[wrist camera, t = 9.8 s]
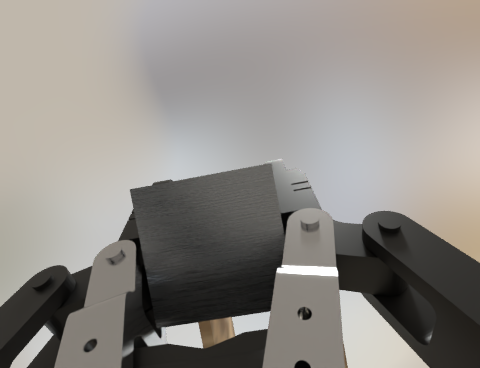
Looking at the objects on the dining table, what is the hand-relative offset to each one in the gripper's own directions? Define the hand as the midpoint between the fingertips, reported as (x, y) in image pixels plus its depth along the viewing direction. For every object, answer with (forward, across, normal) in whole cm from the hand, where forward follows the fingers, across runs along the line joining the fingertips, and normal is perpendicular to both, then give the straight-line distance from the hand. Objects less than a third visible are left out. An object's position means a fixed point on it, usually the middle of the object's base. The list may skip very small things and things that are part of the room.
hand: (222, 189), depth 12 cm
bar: (+4, 0, +6) cm, 7 cm away
